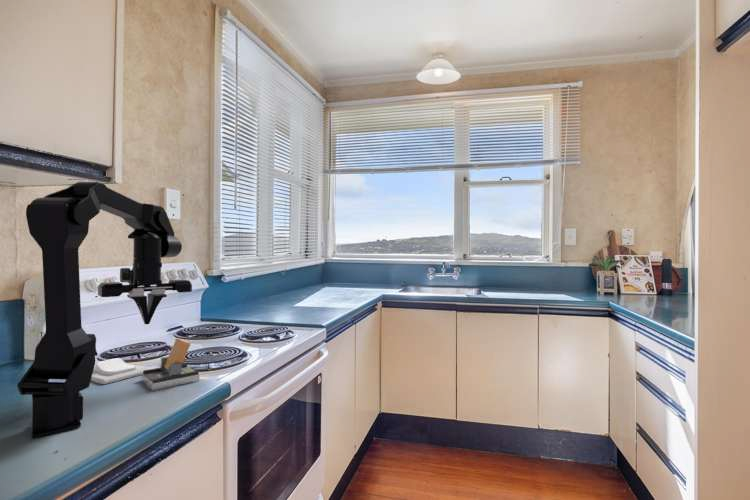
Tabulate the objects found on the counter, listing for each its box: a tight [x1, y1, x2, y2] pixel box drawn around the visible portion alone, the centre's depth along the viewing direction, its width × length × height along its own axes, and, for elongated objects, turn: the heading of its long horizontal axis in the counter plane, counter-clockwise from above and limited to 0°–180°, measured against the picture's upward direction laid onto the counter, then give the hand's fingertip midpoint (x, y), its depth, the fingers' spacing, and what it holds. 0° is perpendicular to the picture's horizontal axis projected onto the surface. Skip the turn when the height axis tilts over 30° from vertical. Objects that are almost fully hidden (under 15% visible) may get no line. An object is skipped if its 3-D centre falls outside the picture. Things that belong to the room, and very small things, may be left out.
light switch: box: [90, 357, 151, 385], centre depth 97 cm, size 11×4×13 cm
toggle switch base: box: [141, 356, 200, 391], centre depth 93 cm, size 10×9×5 cm
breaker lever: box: [164, 337, 191, 372], centre depth 94 cm, size 2×5×8 cm, turn 43°
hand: (146, 324), depth 94 cm, fingers closed
